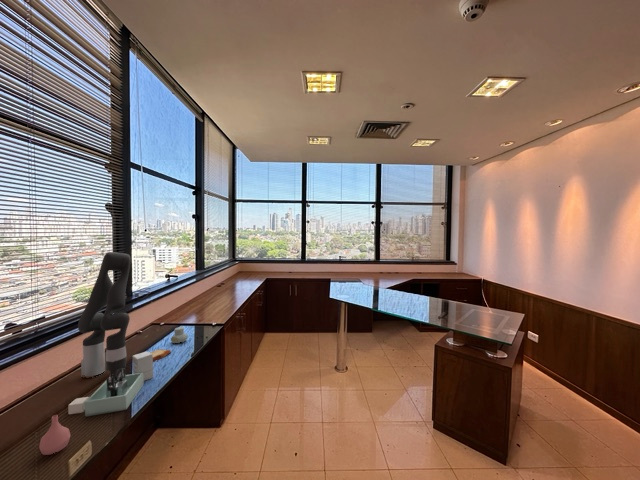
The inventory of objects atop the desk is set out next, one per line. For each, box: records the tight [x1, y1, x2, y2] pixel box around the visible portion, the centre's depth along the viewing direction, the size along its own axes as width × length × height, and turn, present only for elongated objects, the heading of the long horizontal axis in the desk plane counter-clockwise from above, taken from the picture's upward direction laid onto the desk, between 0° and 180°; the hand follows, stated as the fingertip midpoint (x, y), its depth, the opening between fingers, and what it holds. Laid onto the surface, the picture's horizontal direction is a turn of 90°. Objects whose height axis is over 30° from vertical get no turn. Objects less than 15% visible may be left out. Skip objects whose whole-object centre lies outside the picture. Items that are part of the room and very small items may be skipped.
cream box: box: [67, 396, 90, 415], centre depth 117 cm, size 5×5×4 cm
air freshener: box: [170, 326, 189, 344], centre depth 195 cm, size 11×8×10 cm
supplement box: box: [132, 351, 154, 382], centre depth 143 cm, size 7×7×13 cm
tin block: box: [106, 380, 127, 398], centre depth 124 cm, size 6×6×5 cm
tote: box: [84, 373, 144, 418], centre depth 124 cm, size 15×22×6 cm
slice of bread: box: [149, 348, 172, 363], centre depth 168 cm, size 18×18×4 cm
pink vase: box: [38, 414, 72, 456], centre depth 93 cm, size 8×8×12 cm
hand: (117, 393), depth 124 cm, fingers closed on tin block, 6 cm apart
